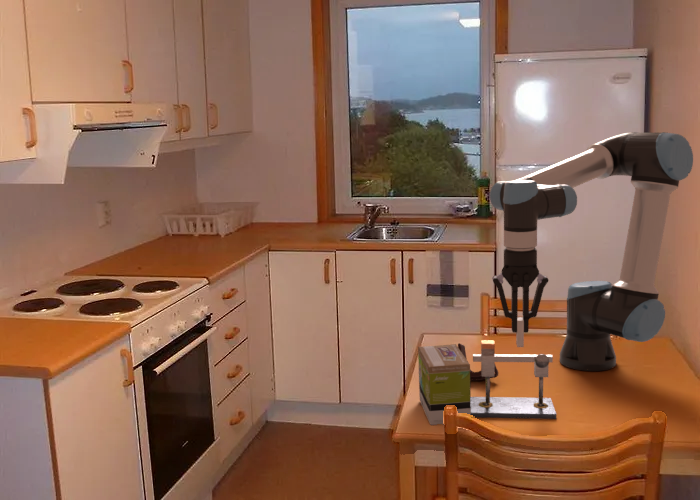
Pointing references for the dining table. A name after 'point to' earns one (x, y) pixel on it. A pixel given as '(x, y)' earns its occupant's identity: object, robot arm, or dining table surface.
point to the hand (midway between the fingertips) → (519, 345)
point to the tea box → (443, 381)
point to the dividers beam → (539, 361)
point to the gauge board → (512, 408)
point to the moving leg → (488, 363)
